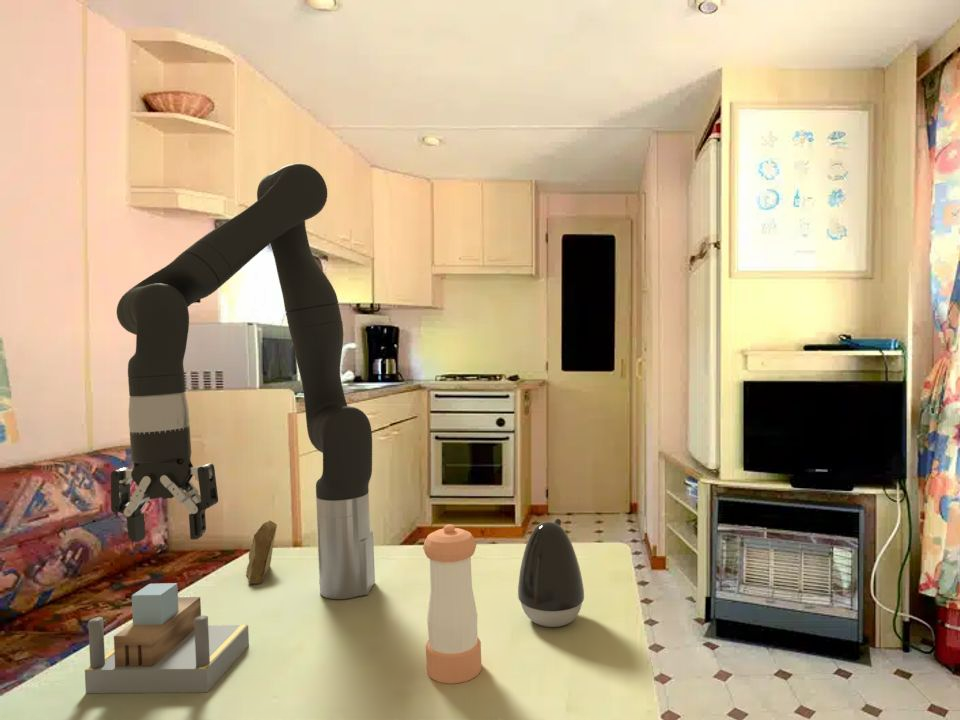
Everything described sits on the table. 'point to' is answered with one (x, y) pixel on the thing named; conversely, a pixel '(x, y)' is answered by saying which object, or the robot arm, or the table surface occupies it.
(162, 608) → the pale blue cube
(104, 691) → the dock
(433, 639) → the salt shaker
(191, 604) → the pallet
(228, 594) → the table surface
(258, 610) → the table surface
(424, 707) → the table surface
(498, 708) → the table surface
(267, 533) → the rock
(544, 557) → the dark grey egg shape
